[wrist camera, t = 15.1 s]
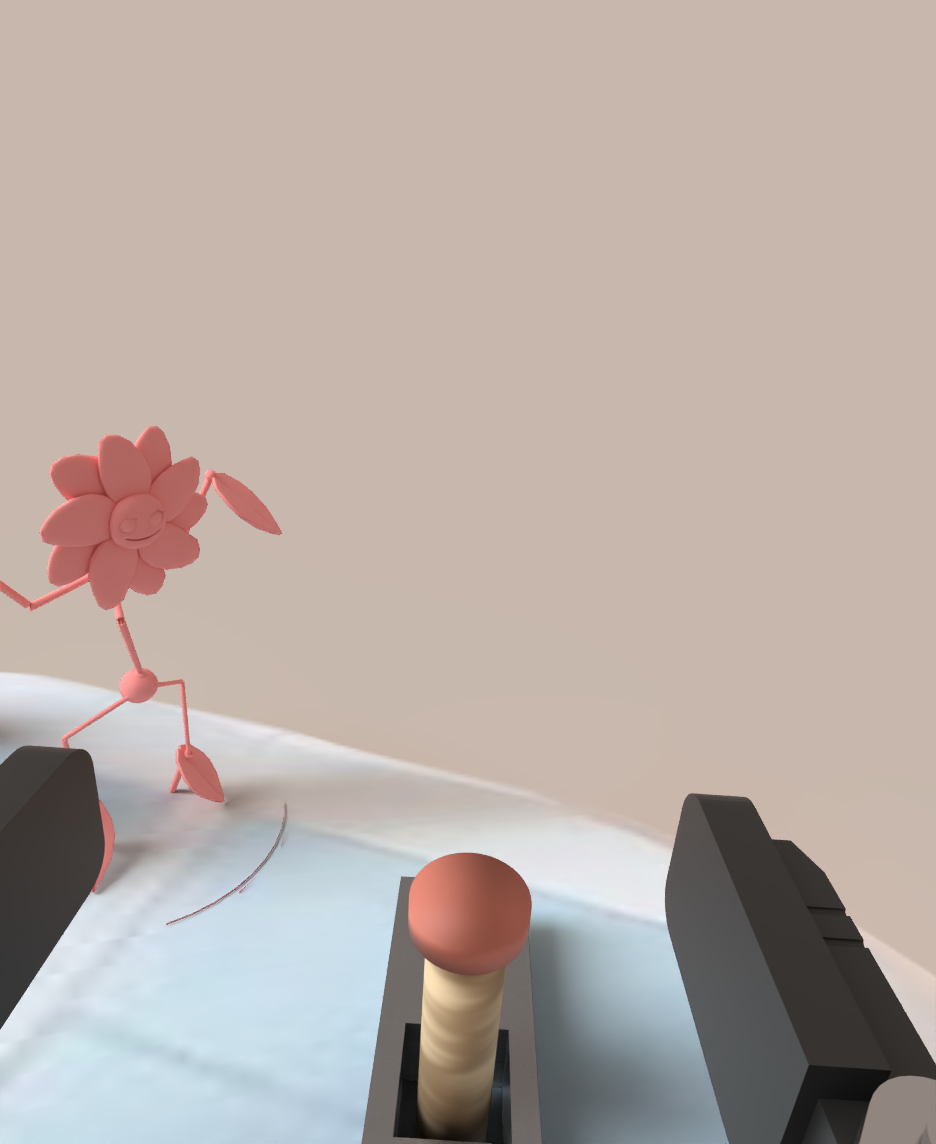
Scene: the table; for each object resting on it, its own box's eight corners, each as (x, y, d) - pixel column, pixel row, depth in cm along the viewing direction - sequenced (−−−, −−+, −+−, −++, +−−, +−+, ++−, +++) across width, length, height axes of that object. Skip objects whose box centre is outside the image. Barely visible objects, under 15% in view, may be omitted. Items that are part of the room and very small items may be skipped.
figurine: (-47, 905, 53) (-166, 435, 40) (238, 746, 73) (221, 399, 60) (65, 1029, 45) (-36, 496, 32) (348, 812, 65) (357, 431, 52)
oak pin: (392, 1197, 38) (402, 945, 31) (404, 1084, 43) (415, 848, 36) (502, 1205, 38) (535, 954, 31) (500, 1090, 43) (528, 856, 36)
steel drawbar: (315, 1533, 27) (312, 1473, 25) (399, 928, 53) (401, 876, 52) (549, 1550, 27) (563, 1490, 25) (519, 936, 53) (525, 884, 52)
